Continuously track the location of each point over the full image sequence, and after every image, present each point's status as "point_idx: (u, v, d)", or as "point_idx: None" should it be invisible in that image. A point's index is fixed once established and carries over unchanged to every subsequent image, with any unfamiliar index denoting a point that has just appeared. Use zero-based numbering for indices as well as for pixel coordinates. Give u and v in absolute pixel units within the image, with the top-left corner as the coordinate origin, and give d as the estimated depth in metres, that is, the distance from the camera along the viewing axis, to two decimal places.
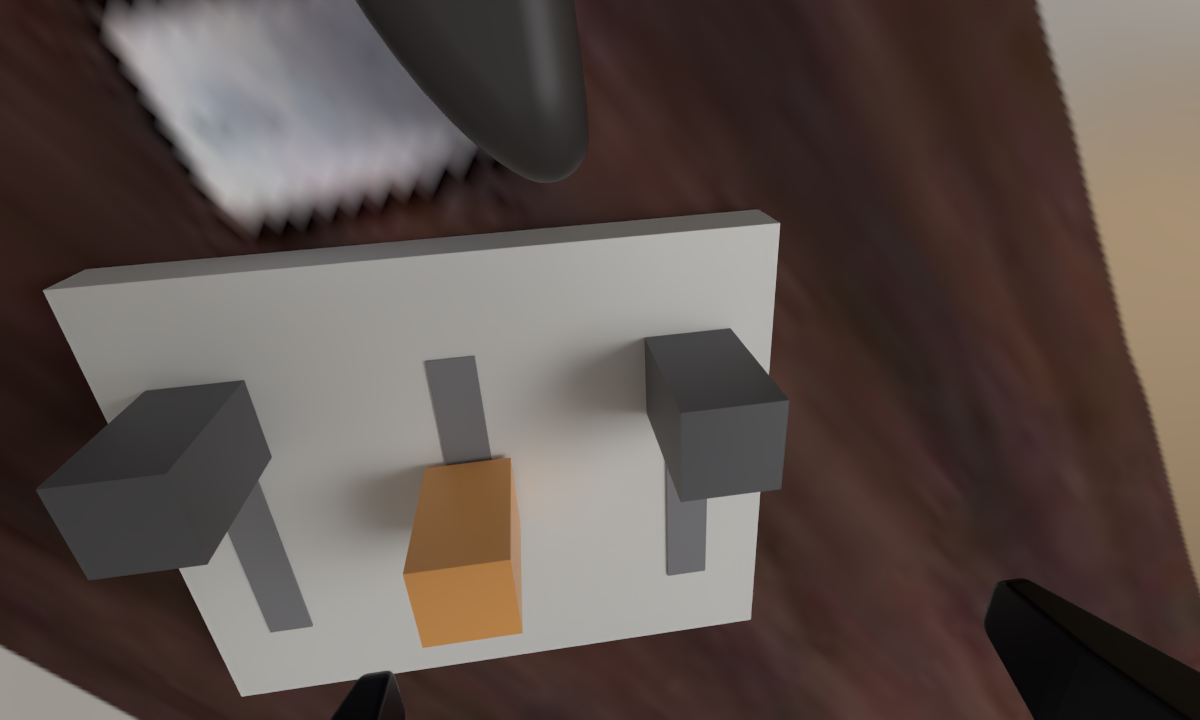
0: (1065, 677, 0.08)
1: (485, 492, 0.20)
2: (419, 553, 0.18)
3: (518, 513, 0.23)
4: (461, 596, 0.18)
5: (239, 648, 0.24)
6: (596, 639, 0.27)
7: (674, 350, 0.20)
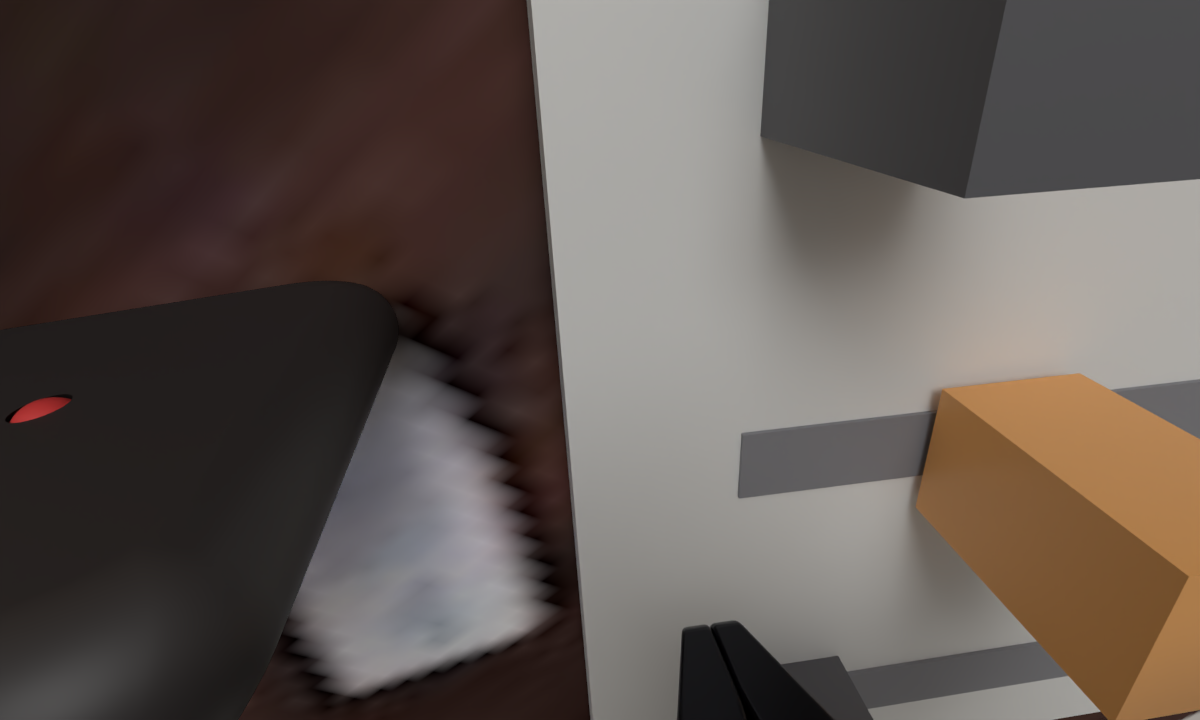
0: None
1: (996, 475, 0.11)
2: (1078, 664, 0.10)
3: (1059, 381, 0.12)
4: None
5: None
6: None
7: (796, 89, 0.08)
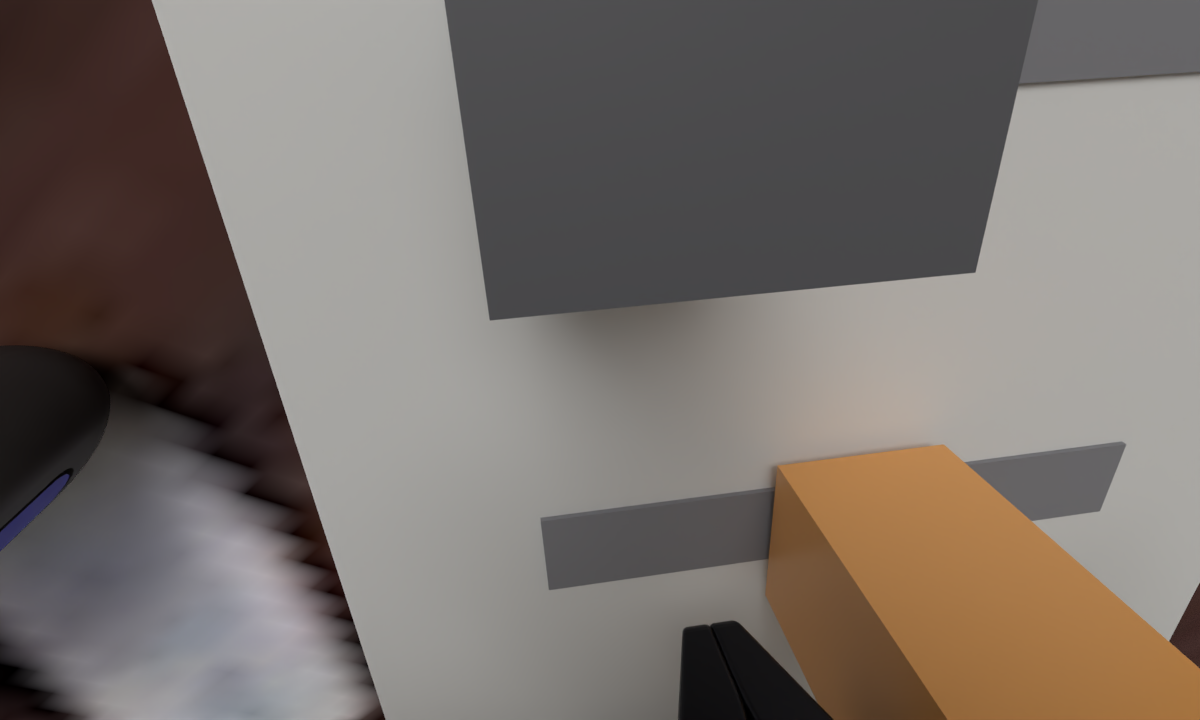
0: None
1: (820, 582, 0.09)
2: None
3: (916, 455, 0.10)
4: None
5: None
6: None
7: None
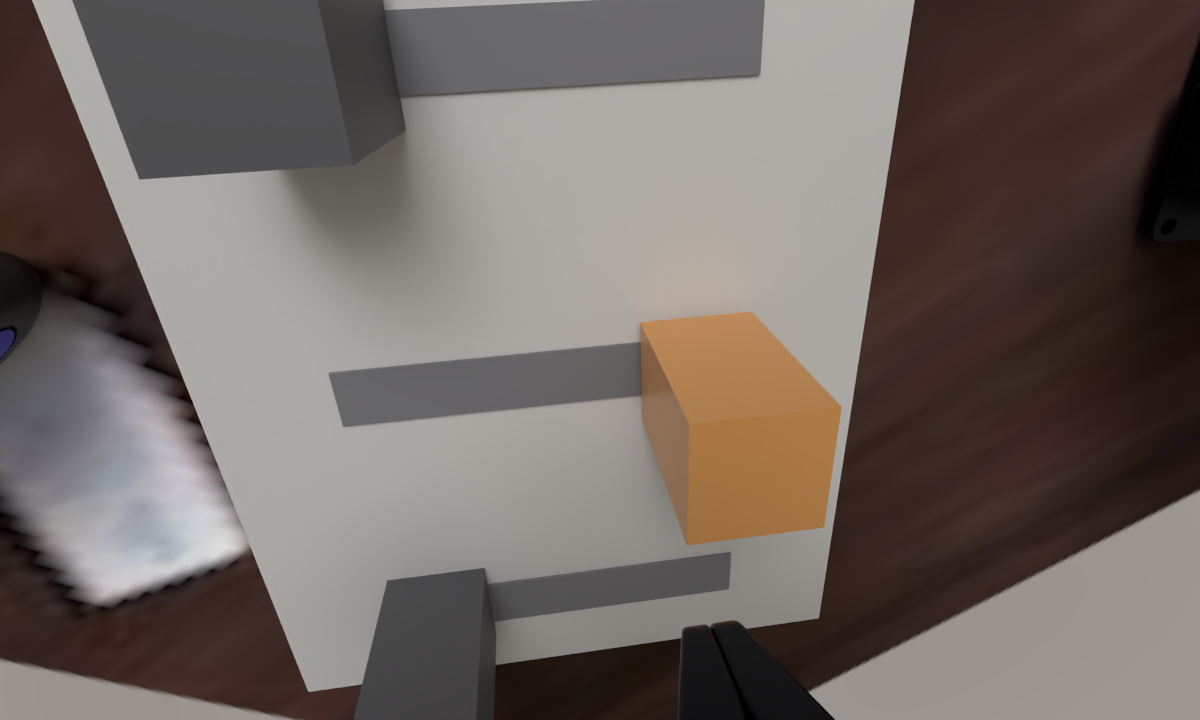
0: None
1: (654, 382, 0.15)
2: (678, 508, 0.13)
3: (730, 316, 0.16)
4: (744, 483, 0.12)
5: (746, 613, 0.22)
6: (874, 204, 0.16)
7: None
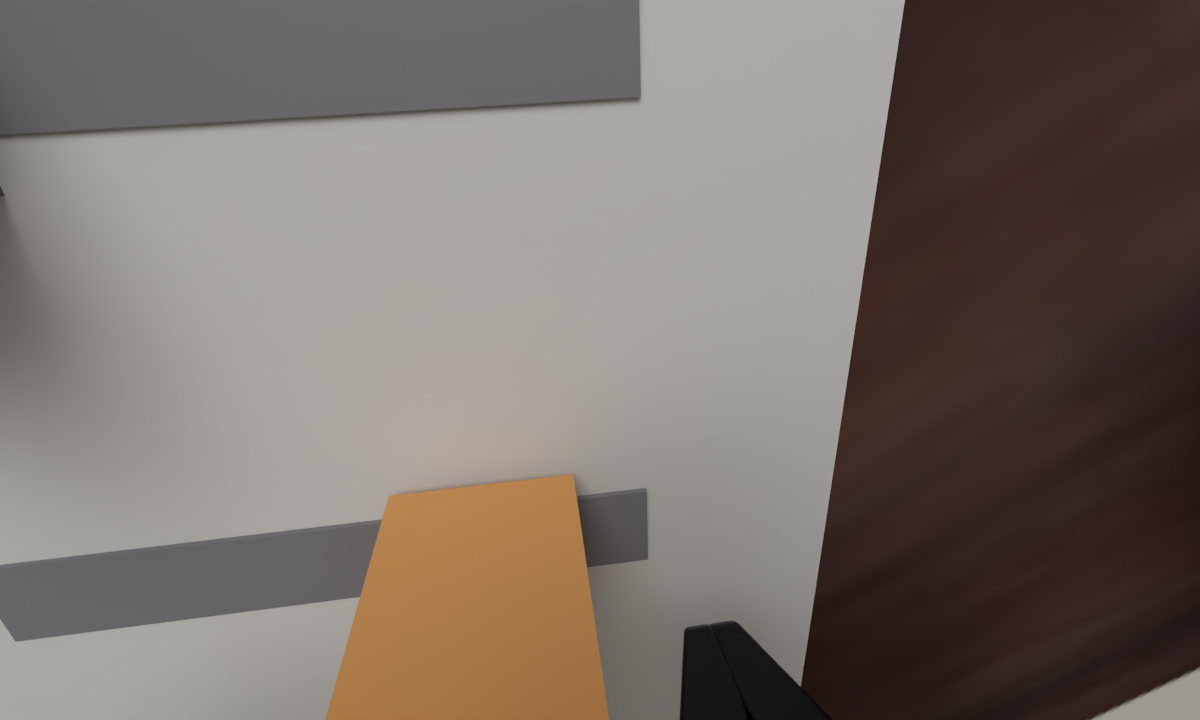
0: None
1: None
2: None
3: (535, 486, 0.10)
4: None
5: None
6: (846, 301, 0.10)
7: None
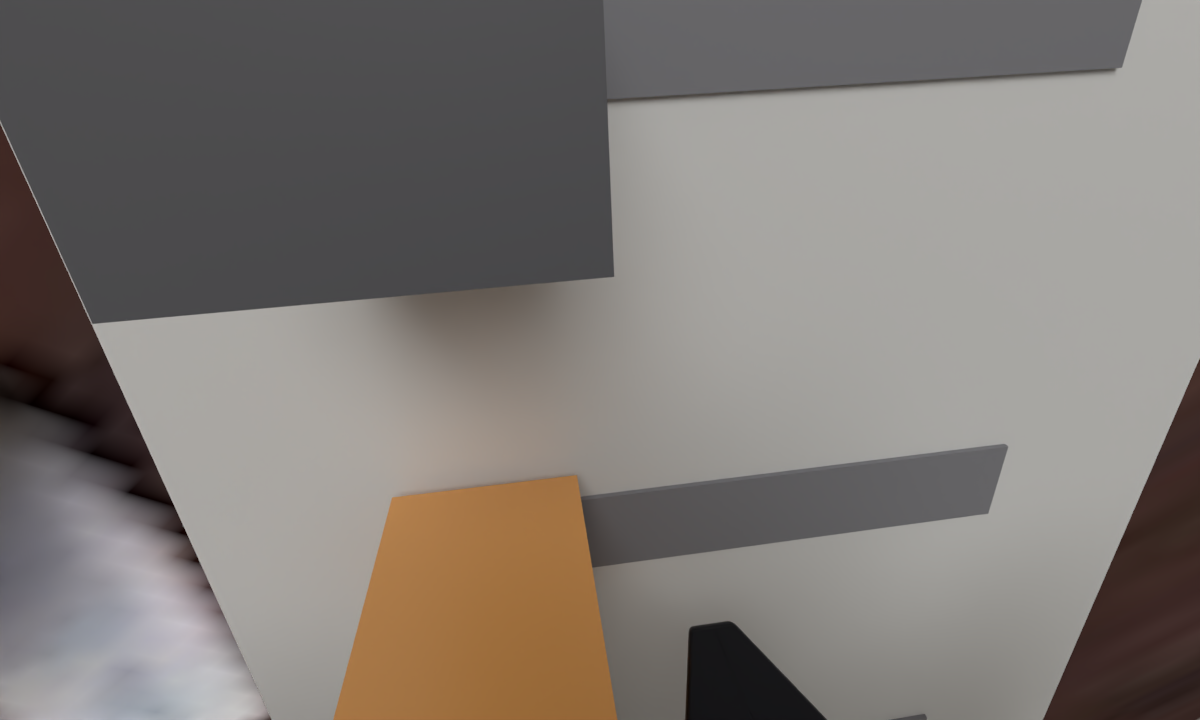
0: None
1: None
2: None
3: (539, 487, 0.10)
4: None
5: None
6: None
7: None
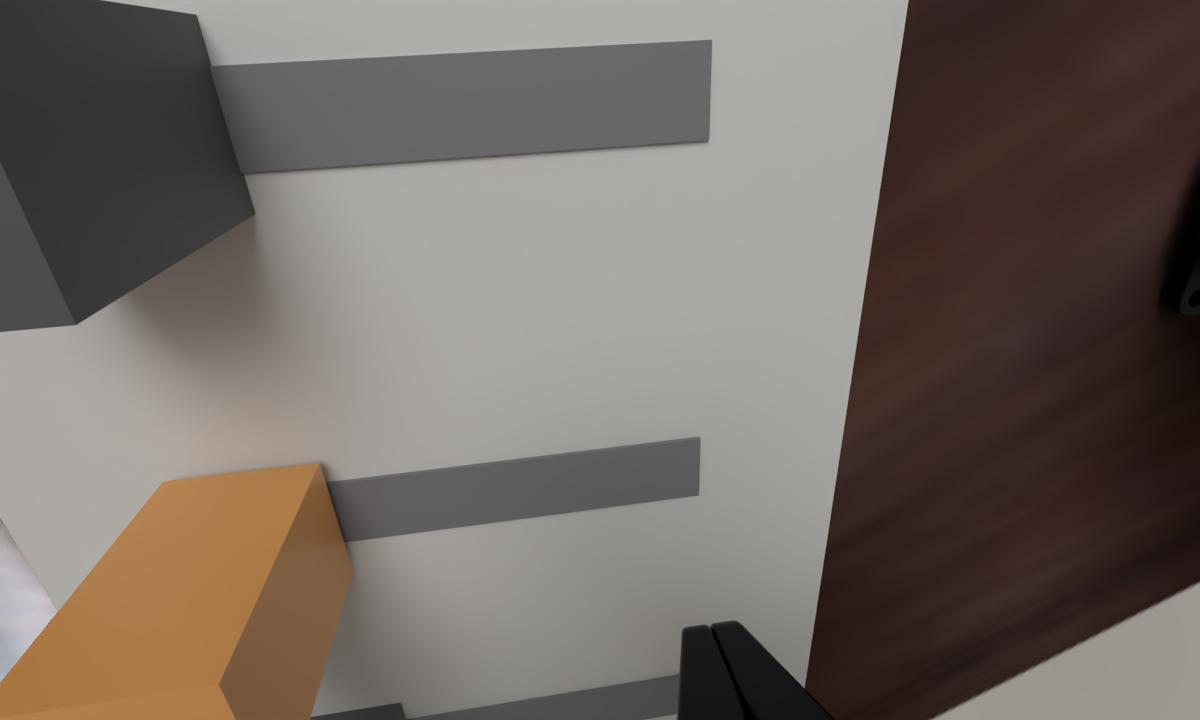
0: None
1: None
2: None
3: (283, 473, 0.12)
4: None
5: None
6: (854, 288, 0.13)
7: None
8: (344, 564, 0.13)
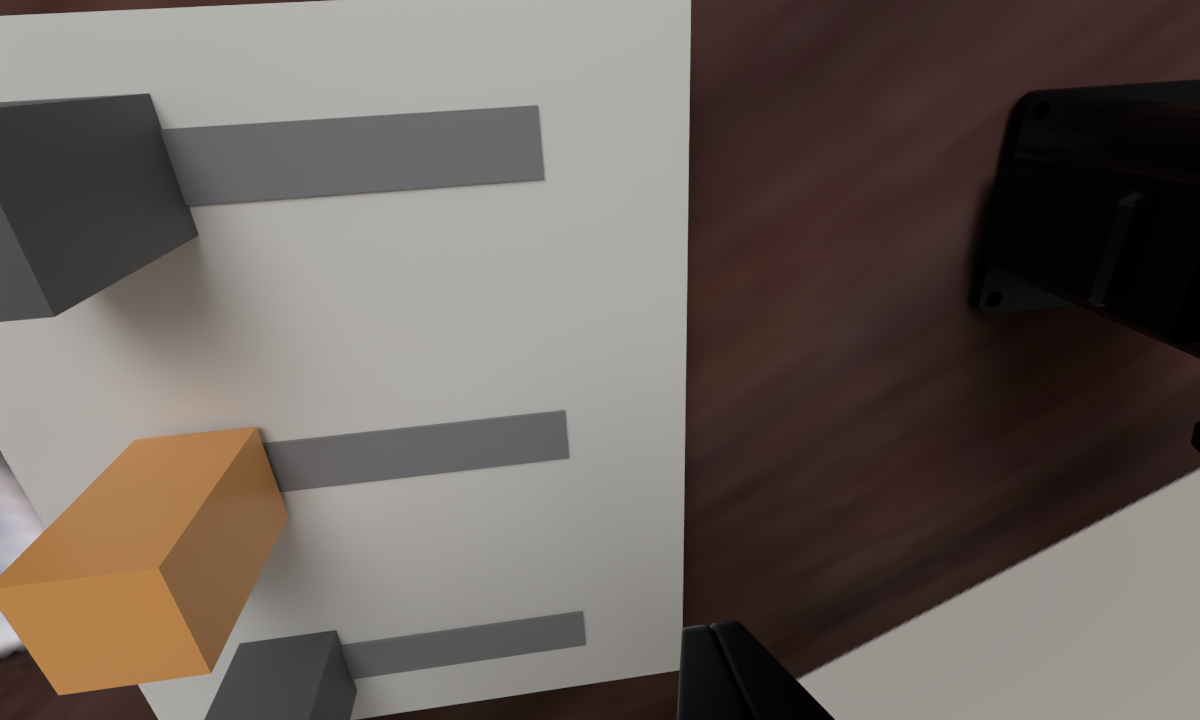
0: None
1: None
2: None
3: (227, 433, 0.16)
4: (88, 638, 0.12)
5: (607, 667, 0.22)
6: (678, 292, 0.16)
7: None
8: (279, 508, 0.17)
